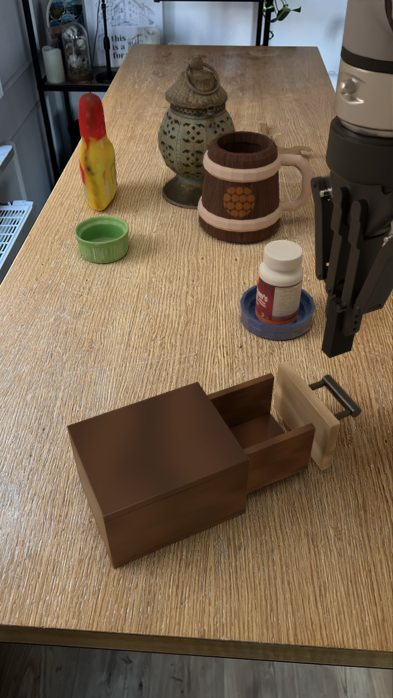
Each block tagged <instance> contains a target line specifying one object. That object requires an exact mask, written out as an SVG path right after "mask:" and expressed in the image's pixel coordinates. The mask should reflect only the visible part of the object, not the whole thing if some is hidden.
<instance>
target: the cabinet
mask: <svg viewBox="0 0 393 698" xmlns="http://www.w3.org/2000/svg"><path fill="white" fill-rule="evenodd" d="M203 388H204V387H202V385H201V384H200V382H199V381H194V382H192V383H188V384H187V385H186V384H185V385H183V386H180V387H178V388H175V389H172V390H169V391H166V392H163V393H160V394H156V395H154V396H151V397H147V398H145V399H141V400H139V401H136V402H133V403H130V404H127V405H124V406H120V407H118V408H115V409H113V410H109V411H106V412H103V413H100V414H97V415H95V416H91V417H88V418H85V419H82V420H80V421H77V422H73V423H71V424H68V425H66V430H67V433H68V437H69V442H70V446H71V450H72V455H73V459H74V463H75V467H76V472H77V475H78V480H79V482H80V484H81V487H82V490H83V493H84V496H85V499H86V500H87V503H88V506H89V508H90V510H91V513H92V516H93V518H94V521H95V524H96V526H97V529H98V533H99V535H100V537H101V540H102V542H103V544H104V547H105V550H106V553H107V555H108V558H109V561H110V563H111V565H112V568H113V569H116V568H118V567H121V566H124V565H125V564H128V563H130V562H133V561H134V560H135V561H136V560H137V559H139V558H142V557H144V556H147V555H149V554H152V553H153V552H156V551H158V550H161V549H163V548H166V547H168V546H170V545H173V544H175V543H178V542H180V541H182V540H184V539H187V538H190V537H191V536H193V535H196V534H199V533H201V532H204V531H206V530H207V529H210V528H212V527H215V526H217V525H219V524H222V523H225V522H226V521H229V520H231V519H234V518H236V517H238V516H240V515H243V514H245V513H246V507H247V496H248V493H247V485H248V473H249V458H248V456H247V455H246V453H245V452H244V450H243V449H242V447H241V446H240V444H239V443H238V441H237V440H236V438H235V437H234V435H233V434H232V432H231V431H230V429H229V428H228V426H227V425H226V423H225V422H224V420H223V419H222V417H221V416H220V414H219V413H218V411H217V410H216V408H215V407H214V405H213V404H212V402H211V401H210V399H209V397H208V396H207V395H208V394H207V393H206V392H205V390H204V389H203Z"/></svg>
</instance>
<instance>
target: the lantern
mask: <svg viewBox="0 0 393 698" xmlns="http://www.w3.org/2000/svg"><path fill="white" fill-rule="evenodd" d="M187 64H188V66H187V67H186V68H185V70H184V71H182V72H180V74H179V76H178V77H177V79H176V80H175V82H174V83H172V85H171V86H170V87H169V88H168V89H167V90H166V91H165V92H164V100H165V101H166V102H167V103H169V106H168V108H167V110H166V111H165V114H164V115H163V117H162V120H161V123H160V126H159V130H158V132H157V142H158V143H157V145H158V150H159V152H160V154H161V157H162V159H163V161H164V164H165V165H166V167H168V168H169V169H170V170H171V171H172V172H173V173H174V174H175V175H174V176H173V177H171V179H169V180H168V181H167V182H166V183H165V184H164V185H163V186H162V187H161V192H162V197H163V199H164V200H165V202H167V203H169V204H170V205H172V206H175V207H177V208H181V209H189V210H198V203H199V200H200V198H201V196H202V191H203V182H204V173H205V168H204V164H203V159H204V155H205V153H206V151H207V150H208V147H209V144H210V142H211V141H212V140H214V139H215V138H216V137H218V136H219V135H222V134H224V133H228V132H234V131H236V127H235V124H234V121H233V118H232V116H231V114H230V112H229V111H228V110H227V105H226V104H227V102H228V100H229V97H228V92H227V91H226V89H224V87H223V86H222V85H221V79H220V76H219V74H218V72H217V70H216V69H215V68H214V67H213V66H212V65H210V64H209V63H206V62H204V60H203V59H202V57H200V56H199V55H193V56H192V57H190V58H189V60H188V63H187ZM204 68H206V69H204ZM207 69H208V70H207Z"/></svg>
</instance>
